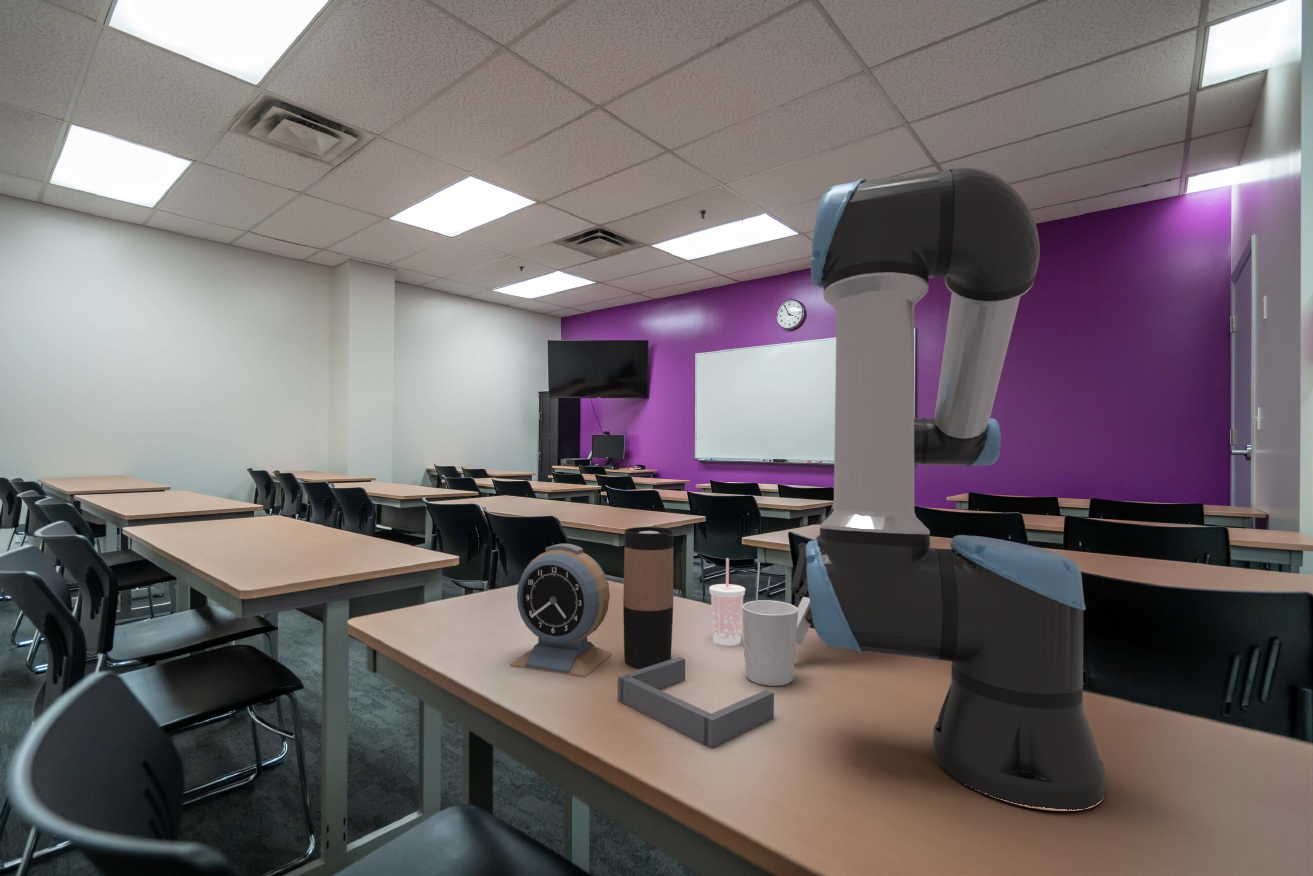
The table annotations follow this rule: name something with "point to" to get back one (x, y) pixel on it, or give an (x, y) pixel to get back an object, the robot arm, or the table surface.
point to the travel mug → (648, 596)
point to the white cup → (769, 641)
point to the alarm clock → (563, 610)
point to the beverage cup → (726, 611)
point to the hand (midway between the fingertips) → (793, 638)
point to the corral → (684, 717)
